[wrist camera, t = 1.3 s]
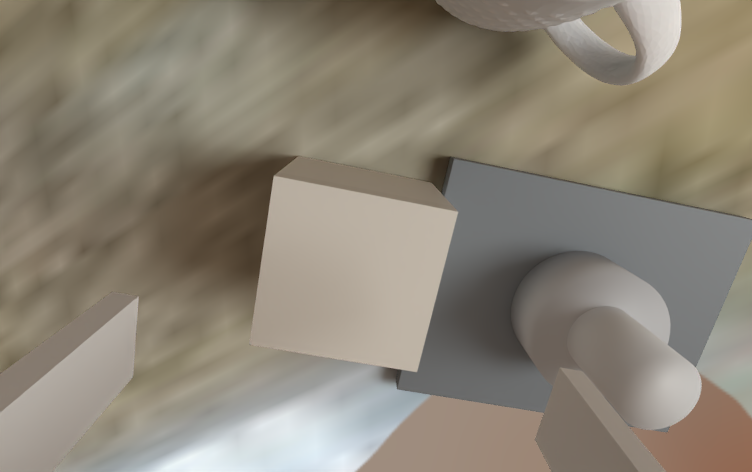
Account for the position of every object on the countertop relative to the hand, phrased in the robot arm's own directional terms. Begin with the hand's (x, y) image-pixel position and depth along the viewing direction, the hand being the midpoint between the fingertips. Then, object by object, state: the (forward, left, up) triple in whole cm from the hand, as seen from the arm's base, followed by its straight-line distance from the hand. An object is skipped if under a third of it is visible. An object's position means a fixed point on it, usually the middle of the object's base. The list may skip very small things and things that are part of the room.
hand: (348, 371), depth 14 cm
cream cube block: (0, 0, -16) cm, 16 cm away
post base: (+15, -2, -16) cm, 22 cm away
